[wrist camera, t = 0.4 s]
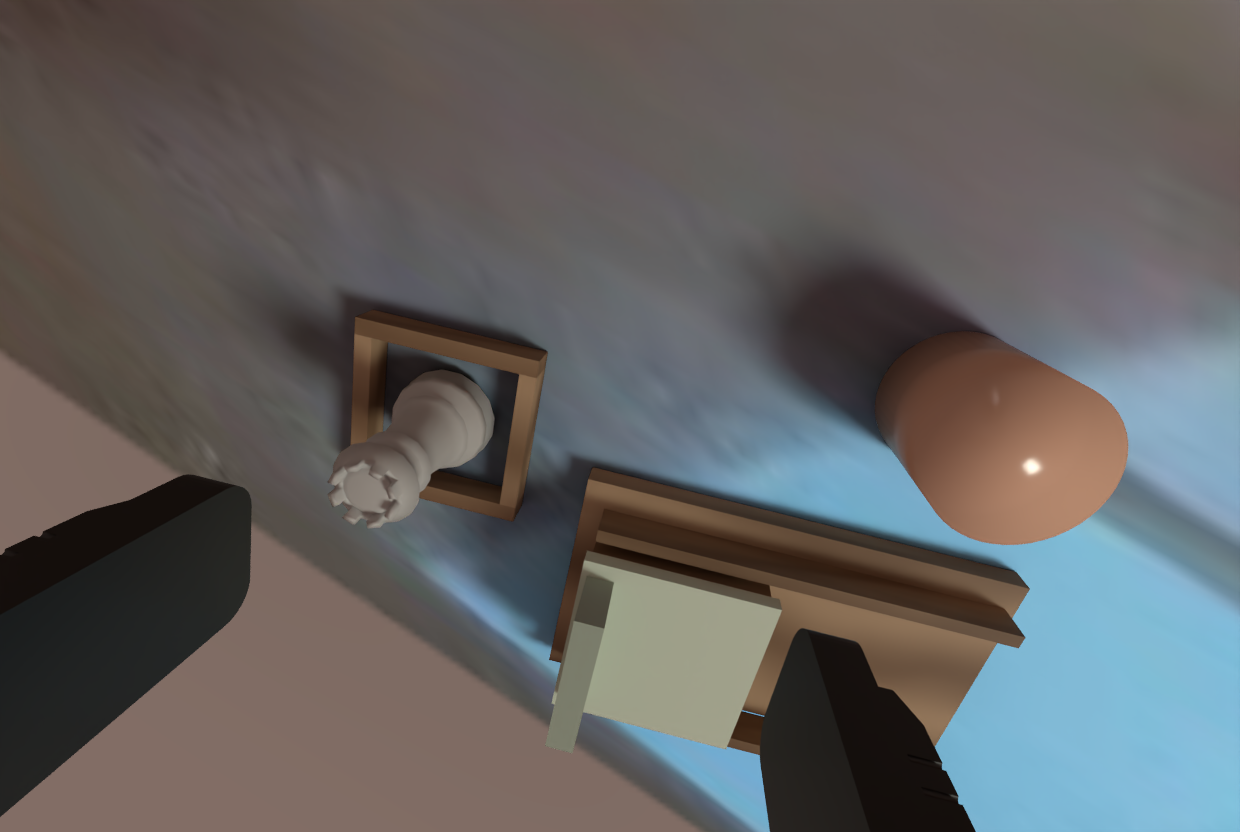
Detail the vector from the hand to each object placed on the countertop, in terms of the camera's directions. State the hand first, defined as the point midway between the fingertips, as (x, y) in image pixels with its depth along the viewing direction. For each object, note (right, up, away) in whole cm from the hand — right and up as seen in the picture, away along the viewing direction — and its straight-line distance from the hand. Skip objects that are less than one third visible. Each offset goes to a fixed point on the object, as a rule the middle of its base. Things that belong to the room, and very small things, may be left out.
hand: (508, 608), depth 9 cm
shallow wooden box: (+9, -7, +21) cm, 24 cm away
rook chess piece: (-6, +3, +19) cm, 21 cm away
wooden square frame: (-6, +3, +19) cm, 20 cm away
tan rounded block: (+15, +3, +16) cm, 23 cm away
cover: (+3, -8, +19) cm, 21 cm away
